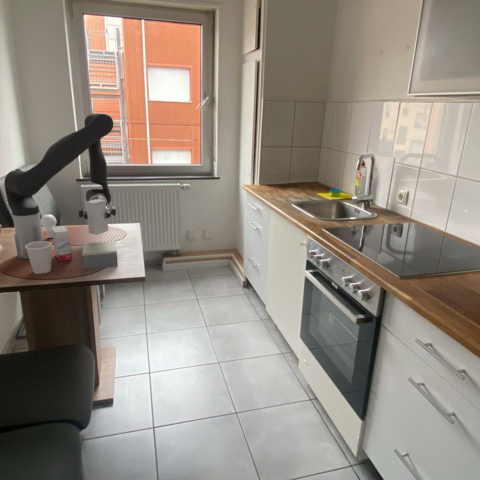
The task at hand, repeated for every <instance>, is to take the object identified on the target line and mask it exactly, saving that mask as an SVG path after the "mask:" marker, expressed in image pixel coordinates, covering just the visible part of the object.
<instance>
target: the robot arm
mask: <svg viewBox="0 0 480 480" xmlns="http://www.w3.org/2000/svg"><path fill="white" fill-rule="evenodd" d="M113 129H114V120H113V118H112V117H111V115H110V114H107V113H105V112H97V113H90V114H88V115H87V116H86V117H85V118H84V127H82V128H80V129H79V130H76V131H74V132H71V133H70V134H68V135H65V136H63V137H62V138H60V139H58V140H57V141H56V142H54V143H53V144H52V145H50V147H48V149H47V150H46V152H45V154H43V155H44V156H43V157H42V159H41V160H40V161H39V162H38V163H37V164H36V165H34V166H32V167H31V168H30V169H28V170H26V171H23V170H11V171H9V172H8V173H7V174H6V175H5V177H4V182H3V183H4V189H5V195H6V201H7V205H8V207H9V208H10V210H11V214H12V220H13V227H14V228H13V229H14V235H13V236H14V237H13V238H14V242H15V248H16V253H17V254H16V255H17V259H24V260H30V259H29V256H28V253H27V250H26V248H25V246H26V245H27V244H29V243H32V242H37V241H45V239H44V236H43V234H44V233H43V228H42V227H43V226H42V224H41V214H40V207H39V205H38V203H36V201H35V199H34V198H33V196H34V195H36V194H37V193H39V191H40V190H41V189H43V188H44V186H45V185H46V184H47V183H48V182H49V181H50V180H51V179H52V178H54V177H55V176H56V175H57V174H59V173H60V172H61V171H62V170H64V169H65V167H67V166H69V165H70V164H71V163H72V162H74V161H75V160H76V159H78V158H79V157H80V155H82V154H83V153H84V152H86V150H87V149H88V155H89V180H90V183H92V184H96V185H98V186H101V187H102V188H100V189H99V188H90V189H88V190H87V191H86V193H85V201H86V202H87V201H91V200H95V199H101V200H105V201H106V211H107V219H109V218H111V217H112V216H113V217H114V216H117V215H116V214H117V206H116V205H112V206H111V207H109V205H110V203H111V202H112V195H111V191H110V187H109V184H108V167H107V165H108V164H107V161H106V158H105V155H104V152H103V149H102V144H101V139H102V138H104V137H105V136H108V135H109V134H110V133H111V132H112V131H113ZM77 211H78V218H83V219H84V220H88V219H87V210H86V208H83V207H82V206H79V207H78V209H77Z"/></svg>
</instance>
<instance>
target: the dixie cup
mask: <svg viewBox="0 0 480 480" xmlns="http://www.w3.org/2000/svg"><path fill="white" fill-rule="evenodd" d="M25 248H26V250H27V253H28V256H29V259H28V260H29V262H30V265H31V269H32V272H33V274H35V275H36V274H37V275H41V274H42V273H43V274H46V273H49V272H51V271H52V242H50V241H48V240H44V241H37V242H32V243H29V244H27V245H26V246H25ZM43 274H42V275H43Z"/></svg>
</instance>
